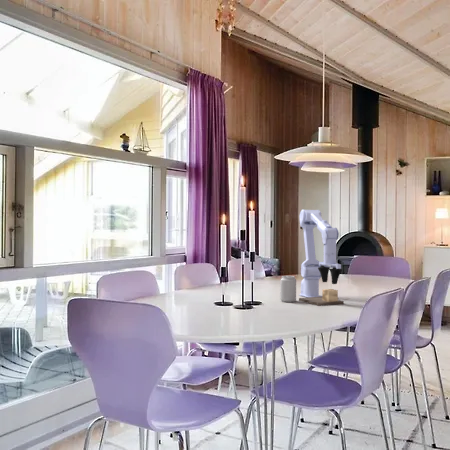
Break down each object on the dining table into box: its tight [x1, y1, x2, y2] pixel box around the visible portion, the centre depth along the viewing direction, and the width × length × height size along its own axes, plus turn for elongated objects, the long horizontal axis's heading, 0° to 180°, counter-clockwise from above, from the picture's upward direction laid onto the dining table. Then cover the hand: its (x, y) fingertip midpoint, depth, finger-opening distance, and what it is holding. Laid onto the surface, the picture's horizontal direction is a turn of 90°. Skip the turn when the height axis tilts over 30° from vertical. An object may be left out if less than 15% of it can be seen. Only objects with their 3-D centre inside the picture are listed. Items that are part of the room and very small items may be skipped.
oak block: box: [321, 288, 339, 302], centre depth 231 cm, size 5×5×5 cm
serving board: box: [298, 297, 345, 307], centre depth 234 cm, size 16×14×1 cm
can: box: [279, 275, 297, 303], centre depth 236 cm, size 8×8×12 cm
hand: (329, 283), depth 231 cm, fingers open, 7 cm apart
